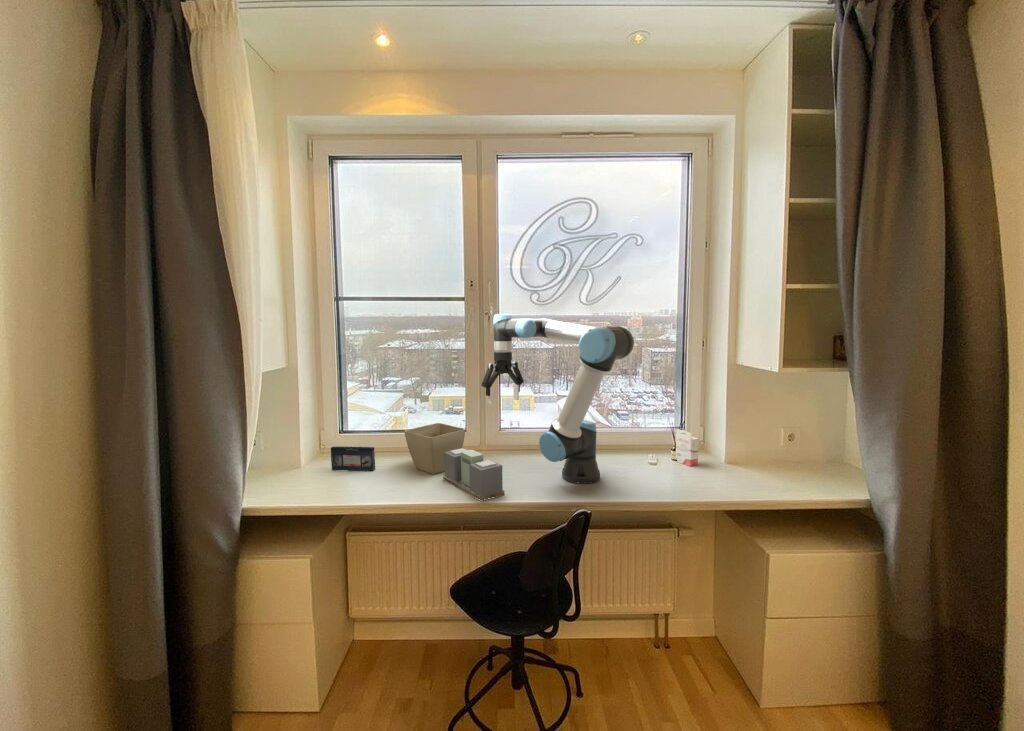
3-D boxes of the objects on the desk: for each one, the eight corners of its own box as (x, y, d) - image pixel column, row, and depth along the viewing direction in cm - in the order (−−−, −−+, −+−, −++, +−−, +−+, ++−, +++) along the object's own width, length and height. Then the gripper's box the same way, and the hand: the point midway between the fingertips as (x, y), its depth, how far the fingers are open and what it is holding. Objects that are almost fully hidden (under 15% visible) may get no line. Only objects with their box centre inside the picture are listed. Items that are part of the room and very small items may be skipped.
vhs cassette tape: (331, 470, 191) (330, 447, 190) (334, 468, 194) (333, 445, 193) (372, 472, 189) (371, 449, 187) (375, 469, 191) (374, 446, 190)
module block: (472, 479, 176) (472, 449, 175) (483, 485, 170) (483, 454, 168) (461, 482, 173) (460, 451, 172) (472, 488, 167) (471, 457, 165)
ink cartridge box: (698, 465, 195) (699, 431, 193) (690, 466, 192) (691, 433, 191) (682, 459, 202) (683, 427, 201) (674, 461, 200) (675, 428, 198)
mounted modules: (464, 471, 185) (463, 446, 184) (502, 491, 163) (502, 463, 162) (444, 476, 179) (444, 450, 178) (481, 497, 158) (481, 468, 157)
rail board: (464, 473, 186) (464, 469, 185) (504, 494, 163) (504, 490, 163) (443, 478, 180) (443, 475, 179) (481, 501, 157) (481, 497, 157)
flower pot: (404, 468, 193) (403, 429, 191) (439, 458, 207) (438, 422, 205) (431, 479, 180) (430, 437, 178) (467, 467, 194) (466, 428, 192)
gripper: (521, 349, 198) (521, 397, 200) (472, 352, 183) (473, 403, 185) (531, 350, 192) (531, 399, 194) (482, 353, 177) (483, 406, 179)
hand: (503, 401), depth 189 cm, fingers open, 13 cm apart
